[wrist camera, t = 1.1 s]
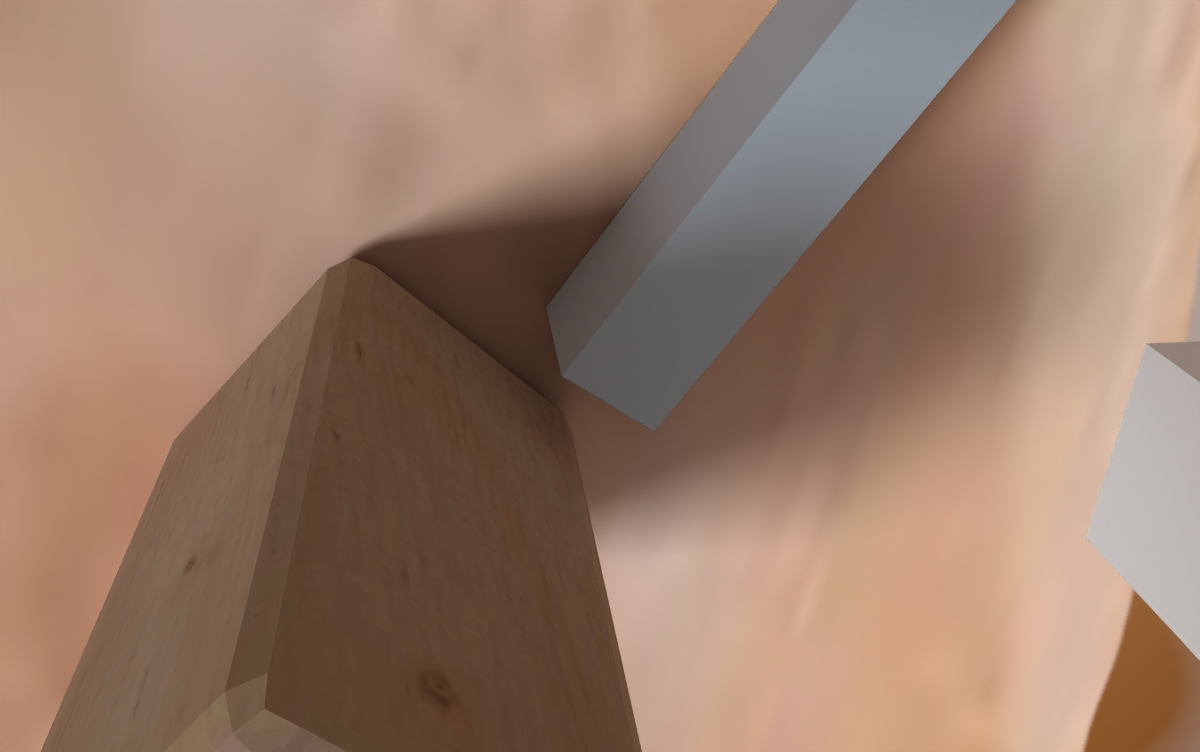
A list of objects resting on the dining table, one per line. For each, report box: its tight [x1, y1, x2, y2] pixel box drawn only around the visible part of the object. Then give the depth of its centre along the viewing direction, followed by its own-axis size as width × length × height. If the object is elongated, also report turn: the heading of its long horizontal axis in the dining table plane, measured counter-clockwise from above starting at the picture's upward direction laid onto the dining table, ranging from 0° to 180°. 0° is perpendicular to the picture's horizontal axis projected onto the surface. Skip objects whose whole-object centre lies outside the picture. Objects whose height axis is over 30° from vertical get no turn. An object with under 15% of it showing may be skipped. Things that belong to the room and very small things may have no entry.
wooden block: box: [41, 257, 642, 752], centre depth 27 cm, size 10×10×20 cm
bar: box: [546, 0, 1016, 431], centre depth 30 cm, size 4×24×5 cm, turn 143°
